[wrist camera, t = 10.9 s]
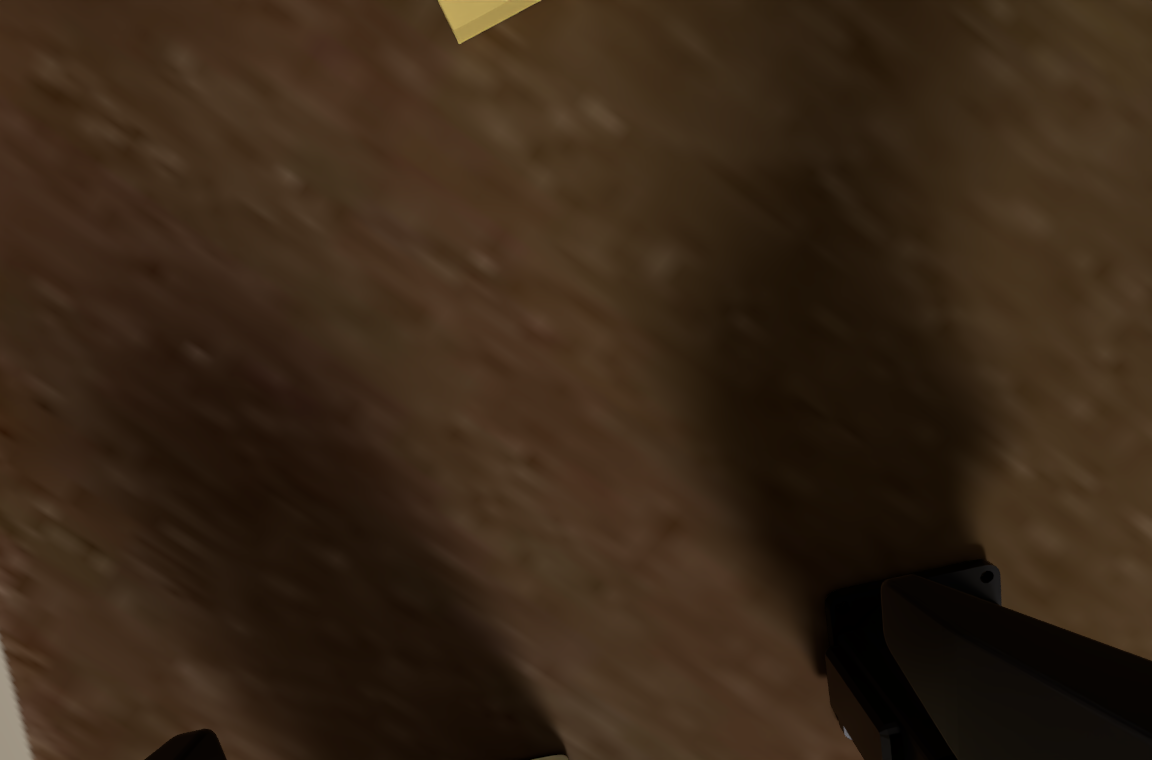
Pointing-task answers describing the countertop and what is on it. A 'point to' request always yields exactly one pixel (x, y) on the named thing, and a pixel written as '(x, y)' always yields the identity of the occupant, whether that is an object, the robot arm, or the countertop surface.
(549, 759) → the tall cream block
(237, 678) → the countertop surface
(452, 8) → the pad
